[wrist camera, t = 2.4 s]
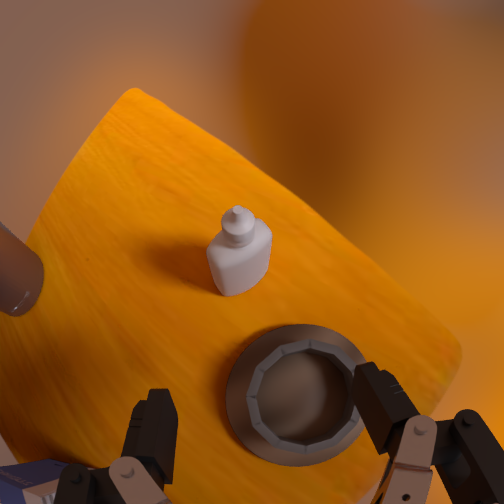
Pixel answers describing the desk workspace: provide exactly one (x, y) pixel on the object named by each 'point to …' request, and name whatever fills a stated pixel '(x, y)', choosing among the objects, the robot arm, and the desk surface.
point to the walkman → (30, 482)
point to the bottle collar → (295, 395)
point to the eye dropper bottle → (239, 252)
